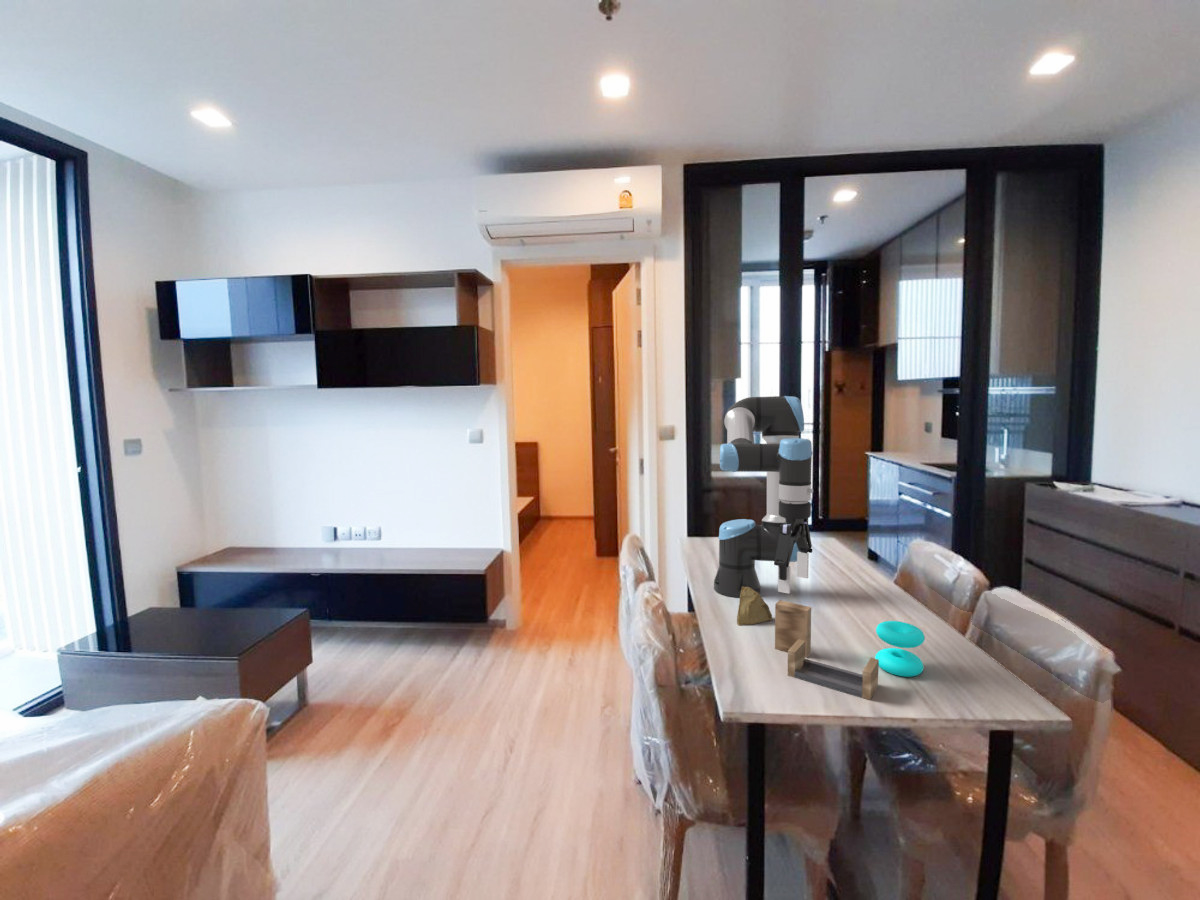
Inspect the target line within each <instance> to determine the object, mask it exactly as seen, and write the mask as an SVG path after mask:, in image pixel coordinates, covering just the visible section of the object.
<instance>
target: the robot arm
mask: <svg viewBox="0 0 1200 900" xmlns="http://www.w3.org/2000/svg"><path fill="white" fill-rule="evenodd" d="M725 412H726V413H725V415H724V420H723V421H724V422H723V423H724V426H725V429H726V430H727V431H726V433H727V435H726V436H727V438H726V439H727V441H726V443H722V444H721V445H720V446H719V468H720V469H721V471H724V472H725V471H726V472H733V473H736V472H741V473H742V472H751V473H752V472H759V473H760V472H761V473H762V472H763V473H764V472H765V473H766V515H764V516H763V518H762V519H761V524H756V521H755V520H753V519H748V518H747V519H746V518H740V519H738V518H737V519H731V520H728V521H724V522H723V523H721V525H720V526H719V532H718V540H719V541H718V542H719V543H718V568H717V572H716V573H715V577H714V580H713V590H714V591H715V592H716V593H718V594H720V595H723V596H727V597H732V598H740V593H741V588H742V586H743V587H750V588H752V589H753V590H754V591H756V592H757V593H759V594H760V592H761V583H760V580H759V577H758V574H757V571H756V566H755V565H756V561H760V562H773V565H774V566H778V567H777V592H779V593H785V594H791V566H790V563H792V562H793V563H795V562H796V577H797V578H802V579H809V564H810V563H809V557H810V554H812V553H813V548H812V547H813V545H812V539H811V538H812V537H811V532H810V527H809V518H810V517H811V516H812V503H811V502H810V501H811V499H812V493H814V489H812V458H813V457H812V456H813V451H812V450H813V448H812V441H811V440H810V439H809V438H800V433H802V432H804V431H805V418H804V411H803V405H802V403H801V400H800V398H799V397H796V396H788V395H780V396H778V395H777V396H776V395H775V396H774V395H773V396H750V397H745V398H743V399H740V400H739V401H736V402H735V403H734V404H732V405H731V406H730V407H729V408H728V409H727V411H725ZM755 432H756V433H759V432H760V433H761V438H762V439H763V440H764V441H765V443H755V438H754V433H755ZM809 553H810V554H809Z"/></svg>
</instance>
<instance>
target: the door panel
mask: <svg viewBox="0 0 1200 900" xmlns="http://www.w3.org/2000/svg"><path fill="white" fill-rule="evenodd" d="M774 606H775V611H774V613H775V615H774V621H775V622H774V650H777V651H780V652H785V653H787V654H788V650H789V649H790V648H791V647H792V646H793V645H794V643H795V642H796V641H797V640H798V639H800V640H804V641H805V659H807V658H808V657H809V656H810V654H811V653H812V651H811V649H812V647H811V646H812V643H811V641H812V607H811V606H807V605H803V604H799V603H793V602H790V601H789V602H788V601H784V600H780V599H779V600H778V601H777V602H776V603H775V605H774Z"/></svg>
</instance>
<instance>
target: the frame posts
mask: <svg viewBox="0 0 1200 900" xmlns="http://www.w3.org/2000/svg"><path fill="white" fill-rule="evenodd" d="M804 659H806V657H805V641H804V640H800V639H798V640H797V641H796V642H795V643H794V645H793V646H792V647H791V648H790V649H789V650H788V653H787V676H789V677H792V678H795V670H796V669H798V670H800V669H801V668H802V666H803V661H804ZM879 668H880V667H879V660H878V659H875V657H874V658H873V657H870V658H869V660H868V662H867V663H866V665H865V667H864V669H863V670H862V675H863V684H862V699H865V700H868V701H871V700H872V698H873V696H874V694H875V692H876V690H877V688H878V686H879Z"/></svg>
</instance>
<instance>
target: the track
mask: <svg viewBox="0 0 1200 900" xmlns="http://www.w3.org/2000/svg"><path fill="white" fill-rule="evenodd" d="M794 678H795V679H799V680H802V681H805V682H809V683H812V684H815V685H819V686H822V687H825V688H828V689H831V690H835V691H839V692H842V693H845V694H849V695H851V696H855V697H859V698H862V684H863V673H859V672H858V673H857V672H855V671H851V670H847V669H843V668H839V667H837V666H832V665H829V664H825V663H821V662H819V661H814V660H812V659H807V658H805V659H804V661H803V666H802V668H801V669H800V670H798V669H796V670H795V677H794ZM862 699H863V698H862Z"/></svg>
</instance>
